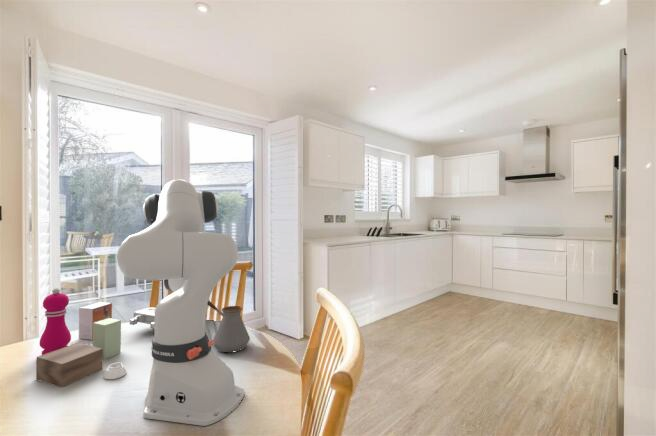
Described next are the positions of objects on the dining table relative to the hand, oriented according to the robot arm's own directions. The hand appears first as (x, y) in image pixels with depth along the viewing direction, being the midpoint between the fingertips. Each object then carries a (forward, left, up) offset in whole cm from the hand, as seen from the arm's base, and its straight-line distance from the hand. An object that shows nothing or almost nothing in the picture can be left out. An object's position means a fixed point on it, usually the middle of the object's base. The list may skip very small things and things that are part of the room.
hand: (141, 324), depth 110 cm
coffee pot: (-26, -8, -6) cm, 28 cm away
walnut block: (-3, +24, -6) cm, 25 cm away
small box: (+18, +3, -6) cm, 19 cm away
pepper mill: (+13, +18, -6) cm, 23 cm away
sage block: (0, +12, -6) cm, 13 cm away
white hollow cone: (-14, +20, -6) cm, 25 cm away
